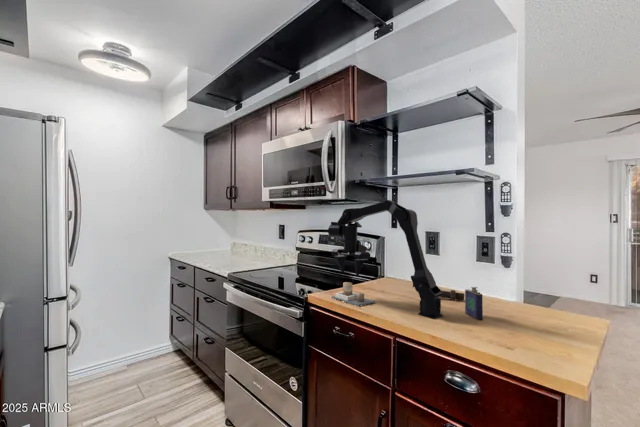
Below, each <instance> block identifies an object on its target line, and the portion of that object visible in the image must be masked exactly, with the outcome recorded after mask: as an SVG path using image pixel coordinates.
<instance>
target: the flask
mask: <svg viewBox="0 0 640 427" xmlns="http://www.w3.org/2000/svg"><path fill="white" fill-rule="evenodd" d="M483 310H484V309H483V294H482V293H481V292H479V290H478V287H477V286H476V287H475V286H471V289H469V288H468V289H465V290H464V313H465V315H468V316H469V317H471V318H473V319H475V320H476V321H480V322H481V321H484V315H483V314H484V311H483Z"/></svg>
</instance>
